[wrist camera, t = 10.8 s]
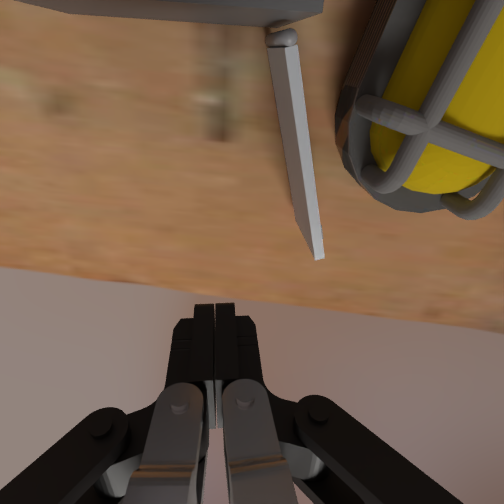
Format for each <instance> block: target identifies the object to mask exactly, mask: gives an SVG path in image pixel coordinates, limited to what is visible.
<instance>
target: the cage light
mask: <svg viewBox="0 0 504 504" xmlns="http://www.w3.org/2000/svg"><path fill="white" fill-rule="evenodd" d="M335 134H336V146H337V149H338V151H339V154H340V157H341V160H342V162H343V165H344V168H345V169H346V170H347V171H348V172H349V173H350V175H351V176H352V177H353V178H354V179H355V180H356V182H357V183H358V184H359V185H360V186H361V187H362V188H363V189H364V190H365V191H367V192H368V193H369V194H370V195H371V196H372V197H373V198H374V199H376V200H378V201H380V202H381V203H383V204H385V205H387V206H389V207H391V208H393V209H395V210H400V211H408V212H416V213H424V212H429V211H435V210H440V209H447V210H449V211H450V212H452V213H453V214H455V215H456V216H458V217H460V218H462V219H465V220H476V219H479V218H482V217H485V216H486V215H488V214H489V213H491V212H492V211H493V210H494V209H495V208H496V207H497V206H498V205H499V203H500V202H501V201H502V199H503V198H504V0H377V3H376V5H375V8H374V10H373V12H372V15H371V17H370V20H369V22H368V25H367V27H366V30H365V32H364V34H363V37H362V39H361V42H360V44H359V47H358V49H357V52H356V54H355V56H354V59H353V61H352V64H351V66H350V69H349V71H348V74H347V76H346V78H345V81H344V83H343V87H342V90H341V94H340V98H339V102H338V106H337V109H336V113H335ZM480 191H481V192H480ZM478 192H480V193H479V195H478V196H477V197H476V198H475V199H474V200H472V201H470V200H469V199H468V198H471V197H473V196H475V195H476V194H477V193H478Z"/></svg>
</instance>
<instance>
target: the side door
mask: <svg viewBox="0 0 504 504" xmlns="http://www.w3.org/2000/svg"><path fill="white" fill-rule="evenodd" d="M296 41H297V33H296V31H295V30H294V29H291V28H289V29H285V30H282V31H278V32H274V33H271V34H268V35H267V36H266V38H265V43H266V45H267V46H268V47H270V48H267V52H268V58H269V64H270V70H271V76H272V82H273V88H274V94H275V100H276V106H277V112H278V118H279V124H280V130H281V136H282V142H283V148H284V154H285V160H286V166H287V172H288V178H289V184H290V190H291V196H292V201H293V207H294V213H295V219H296V222H297V224H298V226H299V228H300V230H301V232H302V234H303V236H304V238H305V240H306V242H307V244H308V247H309V249H310V251H311V253H312V255H313V257H314V259H315V260H319V259H323V258H325V257H324V249H323V241H322V239H323V233H322V225H321V224H320V218H319V210H318V202H317V194H316V186H315V178H314V170H313V162H312V155H311V147H310V139H309V131H308V123H307V115H306V107H305V99H304V92H303V84H302V76H301V68H300V60H299V52H298V45H294V44H295V43H296Z"/></svg>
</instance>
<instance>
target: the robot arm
mask: <svg viewBox="0 0 504 504" xmlns="http://www.w3.org/2000/svg"><path fill="white" fill-rule="evenodd" d="M215 313H216V314H215ZM215 313H214V304H195V307H194V318H186V319H180V321H179V322H178V323H177V325H176V326H175V328H174V330H173V336H172V344H171V351H170V357H169V363H168V370H167V376H166V383H165V388H164V390H163V391H162V392H161V394H160V395H159V397H158V398H157V400H156V401H155V402H154V403H152V404H151V405H149V406H148V407H146V408H143V409H141V410H138V411H135V412H133V413H130V414H127V415H126V414H125V413H124V412H123V411H122V410H120V409H118V408H113V407H107V408H102V409H99V410H96V411H94V412H93V413H91V414H89V415H88V416H87V417H86V418H85V419H83V420H82V421H81V422H80V423H79V424H77V425H76V426H75V427H74V428H73V429H72V430H70V431H69V432H68V433H67V434H66V435H64V436H63V437H62V438H61V439H60V440H59V441H57V443H55V444H54V445H53V446H52V447H50V448H49V449H48V450H47V451H46V452H45V453H44V454H42V455H41V456H40V457H39V458H37V459H36V460H35V461H34V462H33V463H32V464H31V465H29V466H28V467H27V468H26V469H25V470H23V471H22V472H21V473H20V474H19V475H18V476H16V477H15V478H14V479H13V480H12V481H11V482H9V483H8V484H7V485H6V486H5V487H3V488H2V489H1V490H0V504H203V496H204V485H205V476H206V465H207V455H208V454H207V453H208V452H207V450H208V447H209V429H215V428H216V404H217V423H218V428H223V434H224V435H223V436H224V456H225V467H226V478H227V488H228V498H229V504H298V501H297V496H296V493H295V488H294V484H293V482H294V483H295V484H296V485H297V486H298V487H299V488H300V490H301V491H302V492H303V493H304V494H305V495H306V496H307V497H308V498H309V499H310V500H311V501H312V502H313V503H314V504H463V503H462V502H461V501H460V500H458V499H457V498H456V497H454V496H453V495H452V494H451V493H449V492H448V491H447V490H445V489H444V488H443V487H442V486H440V485H439V484H438V483H437V482H435V481H434V480H433V479H431V478H430V477H429V476H428V475H426V474H425V473H424V472H422V471H421V470H420V469H419V468H417V467H416V466H415V465H413V464H412V463H411V462H410V461H408V460H407V459H406V458H405V457H403V456H402V455H401V454H399V453H398V452H397V451H395V450H394V449H393V448H392V447H390V446H389V445H388V444H387V443H385V442H384V441H383V440H381V439H380V438H379V437H378V436H376V435H375V434H374V433H373V432H371V431H370V430H369V429H367V428H366V427H365V426H364V425H362V424H361V423H360V422H358V421H357V420H356V419H354V418H353V417H352V416H351V415H349V414H348V413H347V412H346V411H344V410H343V409H342V408H340V407H339V406H338V405H337V404H335V403H334V402H333V401H331V400H330V399H328V398H326V397H323V396H320V395H309V396H306V397H304V398H302V399H301V400H299V402H298V403H296V402H292V401H288V400H284V399H281V398H279V397H277V396H275V395H273V394H272V393H271V392H270V391H269V390H268V389H267V387H266V386H265V384H264V381H263V376H262V369H261V362H260V354H259V348H258V340H257V333H256V326H255V324H254V322H253V321H252V320H251V318H250V317H249V316H235V305H234V303H216V310H215ZM215 319H216V320H215Z"/></svg>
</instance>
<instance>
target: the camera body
mask: <svg viewBox="0 0 504 504" xmlns="http://www.w3.org/2000/svg"><path fill="white" fill-rule="evenodd" d="M15 1H19V2H23V3H27V4H31V5H35V6H40V7H44V8H48V9H52V10H56V11H60V12H64V13H68V14H81V15H95V16H110V17H124V18H139V19H153V20H168V21H182V22H197V23H212V24H226V25H241V26H255V27H270V28H278V27H281V26H284V25H287V24H290V23H293V22H296V21H299V20H302V19H305V18H308V17H311V16H314V15H317V14H320V13H322V10H323V2H324V0H15Z"/></svg>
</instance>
